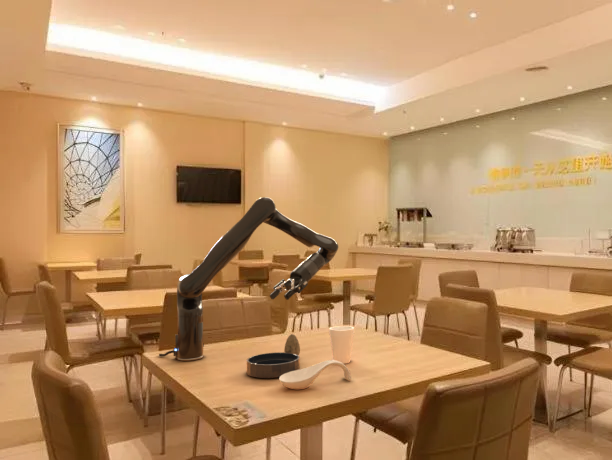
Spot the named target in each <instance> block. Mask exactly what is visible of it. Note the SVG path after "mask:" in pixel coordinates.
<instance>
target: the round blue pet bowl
mask: <svg viewBox="0 0 612 460" xmlns="http://www.w3.org/2000/svg"><path fill="white" fill-rule="evenodd" d="M300 369H301V357H300V354H299V355H297V354H293V353H285V352H284V351H283V352H281V351H279V352H275V351H274V352H266V353H260V354H259V353H258V354H255V355H252V356H250V357H248V358H247V359H246V375H248V376H249V377H254V378H257V379H279V377H280V376H281V375H283V374H285V373H288V372H291V371H295V370H300Z"/></svg>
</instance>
